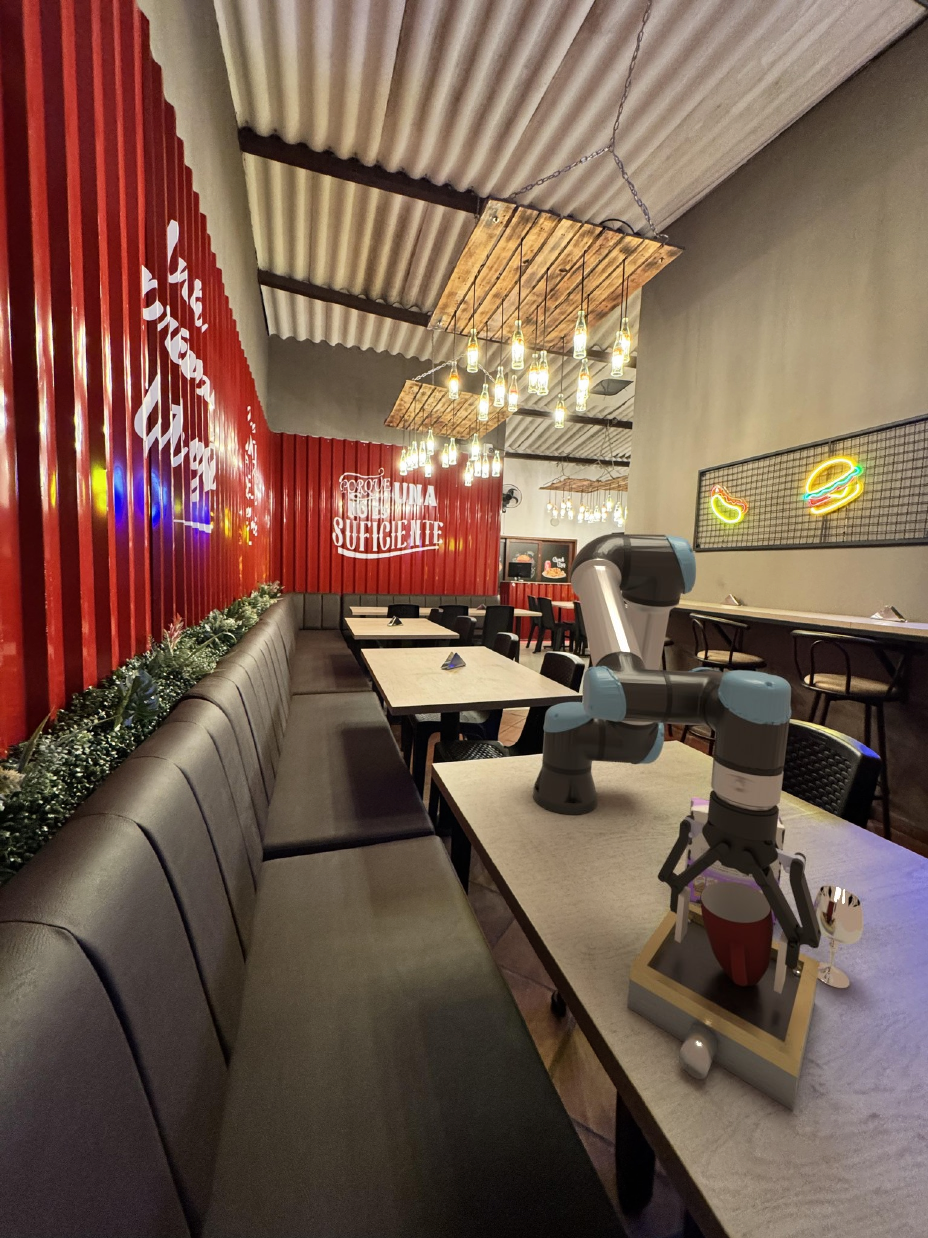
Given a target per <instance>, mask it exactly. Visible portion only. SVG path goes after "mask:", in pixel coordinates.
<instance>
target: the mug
mask: <svg viewBox="0 0 928 1238" xmlns="http://www.w3.org/2000/svg"><path fill="white" fill-rule="evenodd" d="M700 901H701V903H700V908H701V911H702V917H703V922H704V925H705V928H706V931H707V935H708V938H709V941H710V944H711V947H712V951H713V953H714V955H715V958H716V959H717V961H718V963H719V964H720V966H721V967H722V968H723V970H724V971H725V973H726V974H727V975H728V977H729V978H730V979H732V980H733V981H734V982H735V983H736V984H737V985H740V986H746V985H747V986H750V985H755V984H757V983H758V982H759V981H760V980H761V978H762V977H763V975H764V974H765V972H766V971H767V969H768V967H769V963H770V957H771V948H772V941H773V937H774V923H773V917H772V910H771V907H770V905H769V903H768V901H767V899H766V897H765V896H764V895H763V894H762V893H761V892H759V891H758V890H756V889H754V888H752V887H750V886H747V885H744V884H740V883H735V882H717V883H713V884H710V885H708V886H706V887H705V888H704V889H703V890H702V892H701V895H700Z"/></svg>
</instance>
